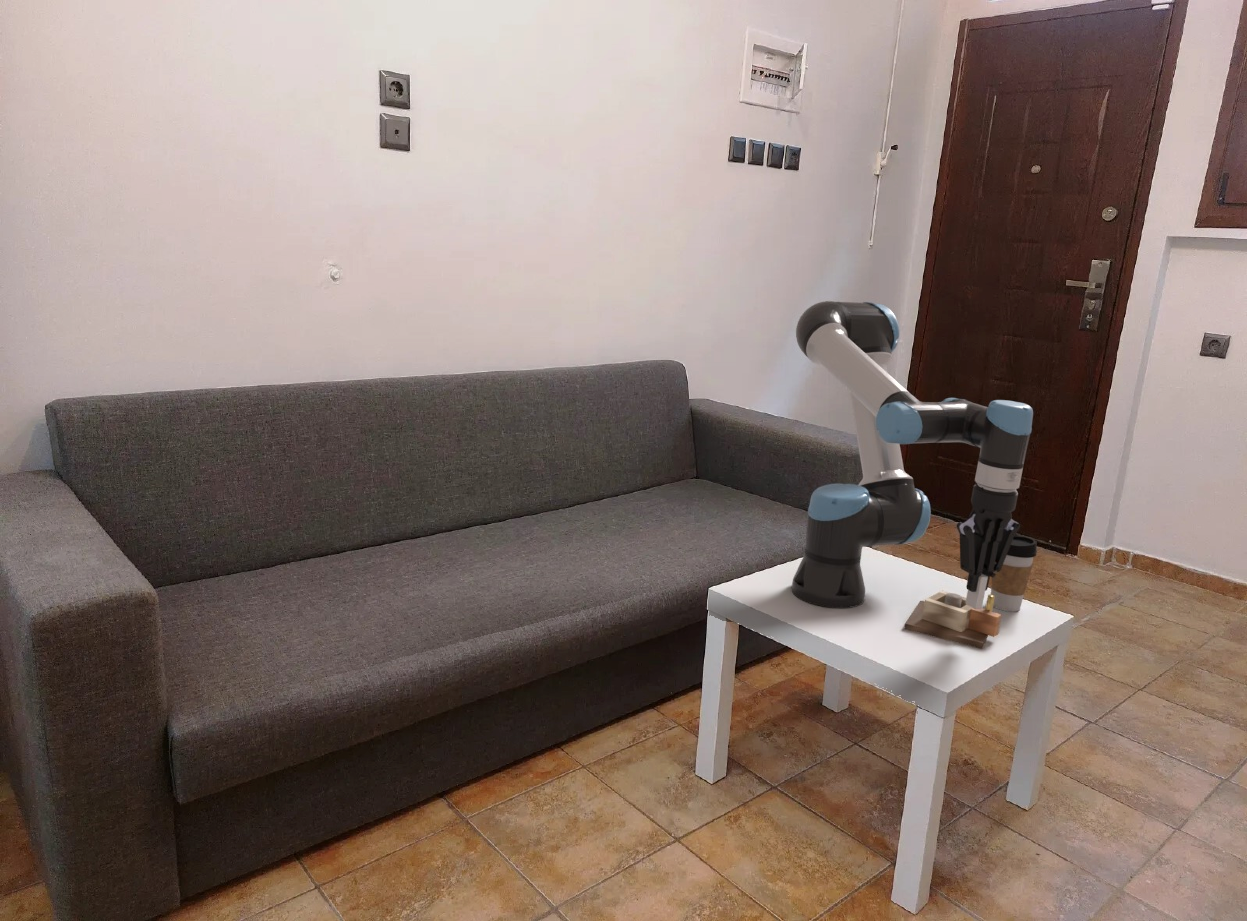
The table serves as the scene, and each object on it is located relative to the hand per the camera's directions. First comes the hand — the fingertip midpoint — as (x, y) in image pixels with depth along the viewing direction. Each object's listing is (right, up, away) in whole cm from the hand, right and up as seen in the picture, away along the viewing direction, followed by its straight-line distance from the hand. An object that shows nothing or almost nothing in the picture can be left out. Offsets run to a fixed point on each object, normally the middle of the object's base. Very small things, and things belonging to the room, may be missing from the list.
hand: (973, 606), depth 162 cm
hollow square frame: (0, -5, +6) cm, 8 cm away
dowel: (+5, -5, +5) cm, 9 cm away
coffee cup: (+15, -4, +21) cm, 26 cm away
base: (-1, -5, +8) cm, 10 cm away
